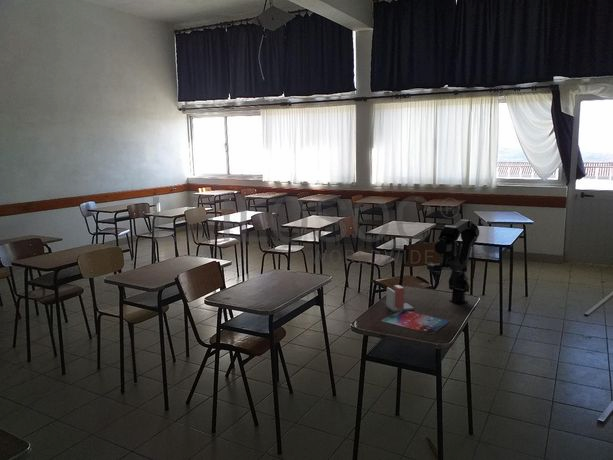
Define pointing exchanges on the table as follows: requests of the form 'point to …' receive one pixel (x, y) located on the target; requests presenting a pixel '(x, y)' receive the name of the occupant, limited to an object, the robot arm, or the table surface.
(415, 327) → the tablet
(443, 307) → the table surface
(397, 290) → the book
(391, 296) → the bookstand
